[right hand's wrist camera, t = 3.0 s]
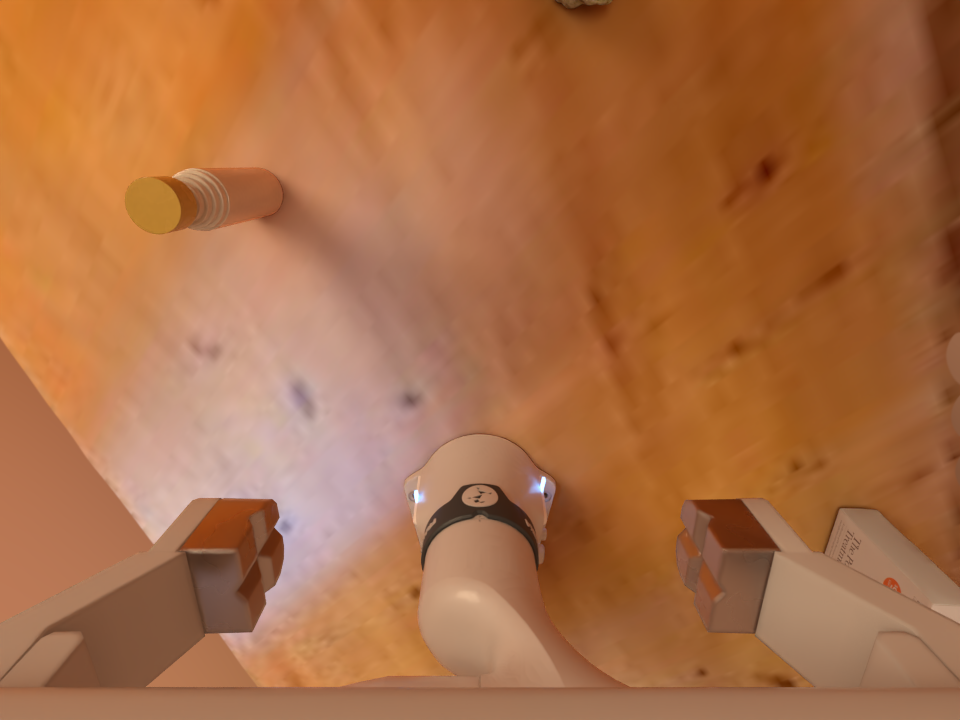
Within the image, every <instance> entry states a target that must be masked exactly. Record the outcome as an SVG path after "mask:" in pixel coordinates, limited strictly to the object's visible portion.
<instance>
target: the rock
mask: <svg viewBox="0 0 960 720" xmlns="http://www.w3.org/2000/svg"><path fill="white" fill-rule="evenodd" d="M555 1H556V2H557V3H562V4H563V5H564V6H565V7H566V8H568V9H570V8H572V9H573V8H576V7H578V6H580V5H582V4H585V5H588V6H590V5H595V4H599V5H606V4H610V3H611V2H612V0H555Z"/></svg>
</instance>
